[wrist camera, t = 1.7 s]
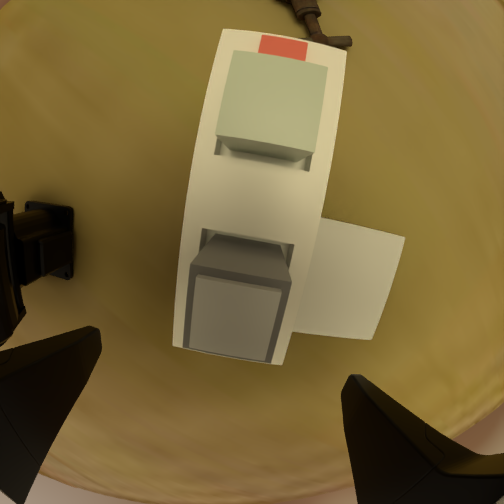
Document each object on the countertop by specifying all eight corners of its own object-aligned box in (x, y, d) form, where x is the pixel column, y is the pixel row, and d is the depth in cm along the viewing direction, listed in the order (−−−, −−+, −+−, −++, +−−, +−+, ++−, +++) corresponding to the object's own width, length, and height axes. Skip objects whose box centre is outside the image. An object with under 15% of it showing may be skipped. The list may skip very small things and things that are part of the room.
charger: (206, 293, 19) (180, 351, 12) (215, 233, 18) (187, 266, 11) (267, 304, 19) (271, 368, 12) (280, 244, 18) (293, 285, 11)
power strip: (279, 343, 21) (282, 371, 18) (182, 325, 21) (169, 351, 18) (335, 67, 16) (349, 46, 12) (227, 47, 16) (221, 23, 12)
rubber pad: (286, 328, 21) (287, 330, 21) (314, 215, 19) (315, 216, 18) (369, 337, 21) (371, 339, 21) (402, 236, 19) (405, 237, 19)
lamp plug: (229, 150, 17) (214, 134, 11) (241, 89, 16) (233, 49, 10) (296, 162, 17) (314, 152, 11) (307, 100, 16) (327, 67, 10)
